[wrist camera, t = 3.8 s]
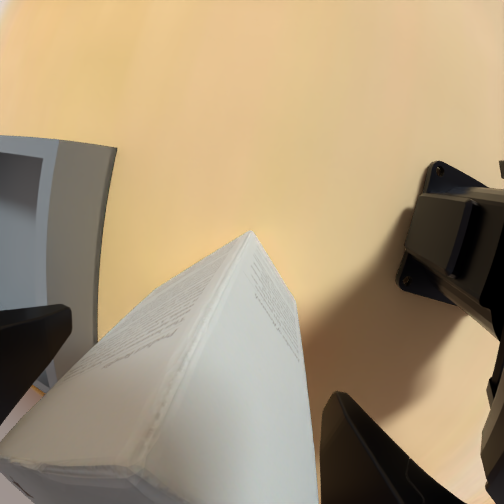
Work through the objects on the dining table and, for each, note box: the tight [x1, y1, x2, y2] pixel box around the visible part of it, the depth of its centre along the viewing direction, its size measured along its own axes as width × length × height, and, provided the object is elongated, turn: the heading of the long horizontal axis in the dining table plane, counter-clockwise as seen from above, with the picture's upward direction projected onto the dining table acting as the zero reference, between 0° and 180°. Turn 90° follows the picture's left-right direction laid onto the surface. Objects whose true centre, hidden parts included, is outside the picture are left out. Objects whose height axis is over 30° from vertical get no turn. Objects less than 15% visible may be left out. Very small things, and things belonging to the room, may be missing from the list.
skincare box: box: [0, 231, 319, 504], centre depth 8 cm, size 6×4×12 cm
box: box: [0, 135, 117, 393], centre depth 12 cm, size 14×14×4 cm
